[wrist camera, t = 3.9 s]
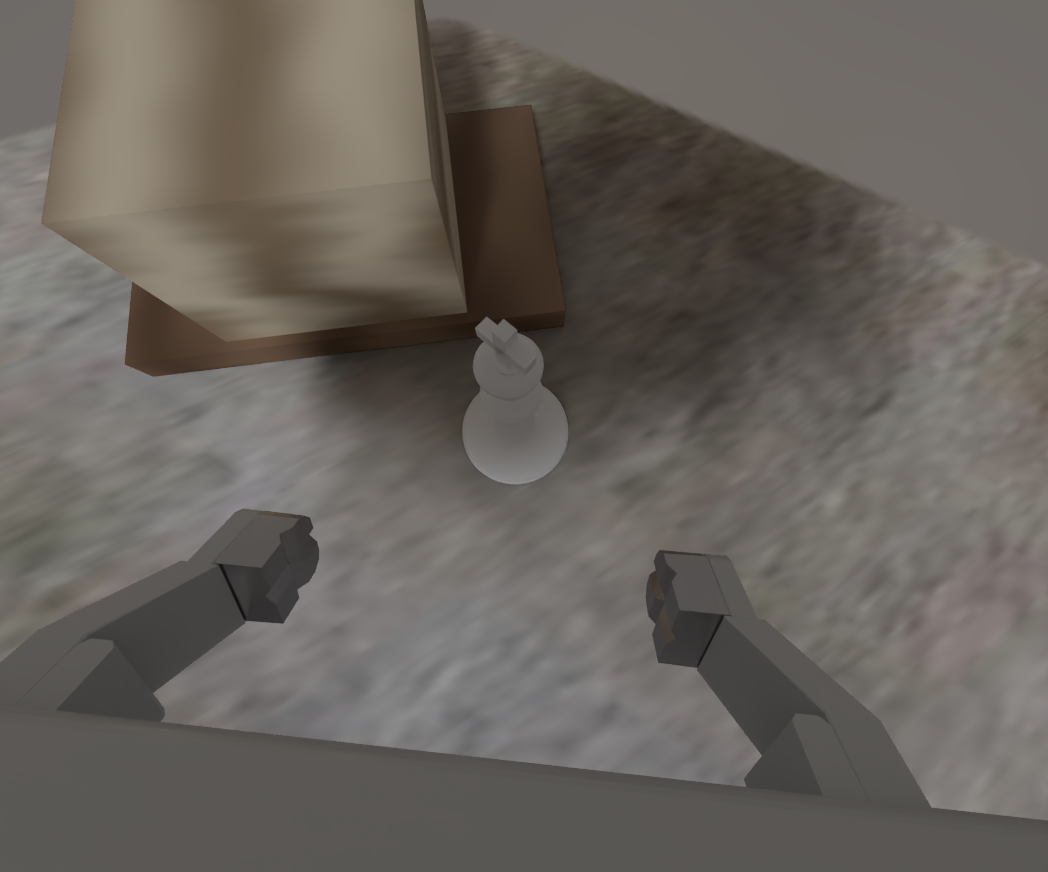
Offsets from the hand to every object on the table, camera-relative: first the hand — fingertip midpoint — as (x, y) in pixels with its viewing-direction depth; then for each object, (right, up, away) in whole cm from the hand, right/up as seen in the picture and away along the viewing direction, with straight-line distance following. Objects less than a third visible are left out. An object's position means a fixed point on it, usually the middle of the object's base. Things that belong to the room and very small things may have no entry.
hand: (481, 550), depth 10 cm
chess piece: (+1, +3, +10) cm, 10 cm away
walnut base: (-8, +13, +12) cm, 19 cm away
